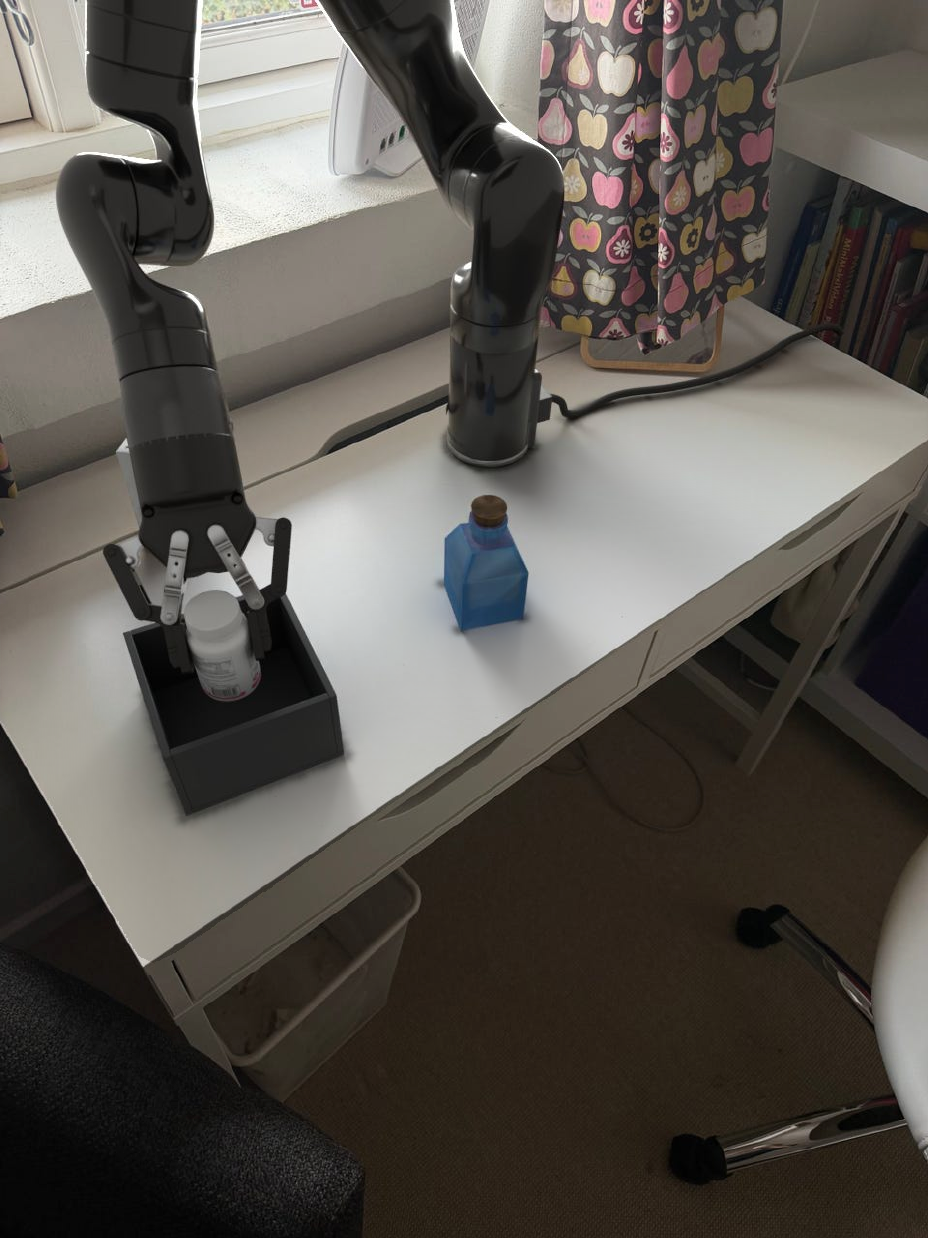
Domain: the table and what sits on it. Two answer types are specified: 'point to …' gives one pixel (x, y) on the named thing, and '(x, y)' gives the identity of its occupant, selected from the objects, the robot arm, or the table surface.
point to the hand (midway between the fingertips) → (224, 664)
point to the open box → (239, 714)
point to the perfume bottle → (484, 567)
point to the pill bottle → (221, 646)
